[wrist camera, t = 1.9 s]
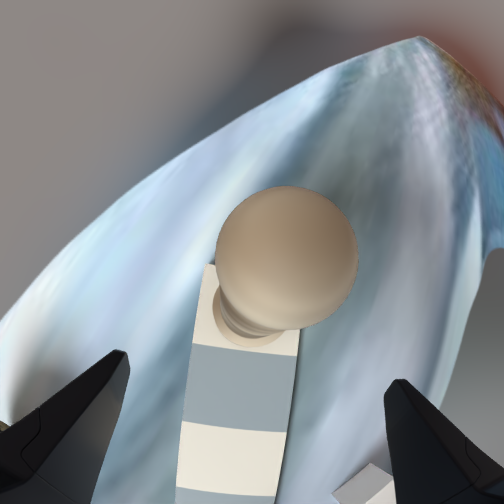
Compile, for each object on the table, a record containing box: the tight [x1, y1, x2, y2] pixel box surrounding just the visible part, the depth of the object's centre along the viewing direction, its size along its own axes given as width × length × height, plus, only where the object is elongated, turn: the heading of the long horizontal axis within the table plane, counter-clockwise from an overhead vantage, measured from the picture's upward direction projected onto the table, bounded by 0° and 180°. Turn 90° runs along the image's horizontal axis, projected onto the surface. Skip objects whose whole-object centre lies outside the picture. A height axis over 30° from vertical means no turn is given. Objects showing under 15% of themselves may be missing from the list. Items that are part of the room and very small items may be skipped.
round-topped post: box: [212, 186, 359, 347], centre depth 13 cm, size 5×5×14 cm
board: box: [175, 264, 300, 504], centre depth 17 cm, size 22×7×1 cm, turn 173°
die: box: [332, 463, 396, 504], centre depth 14 cm, size 4×4×4 cm
